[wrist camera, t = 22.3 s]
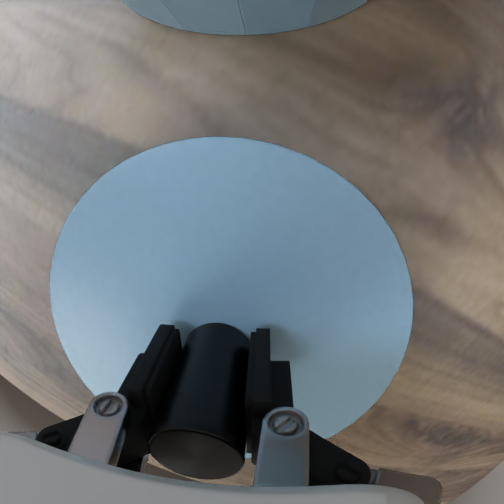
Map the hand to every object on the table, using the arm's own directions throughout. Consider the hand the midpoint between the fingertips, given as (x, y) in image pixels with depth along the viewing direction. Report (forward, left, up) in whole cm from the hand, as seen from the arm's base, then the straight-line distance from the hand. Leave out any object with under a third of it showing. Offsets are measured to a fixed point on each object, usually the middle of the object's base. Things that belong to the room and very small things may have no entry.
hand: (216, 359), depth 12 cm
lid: (0, 0, -1) cm, 1 cm away
